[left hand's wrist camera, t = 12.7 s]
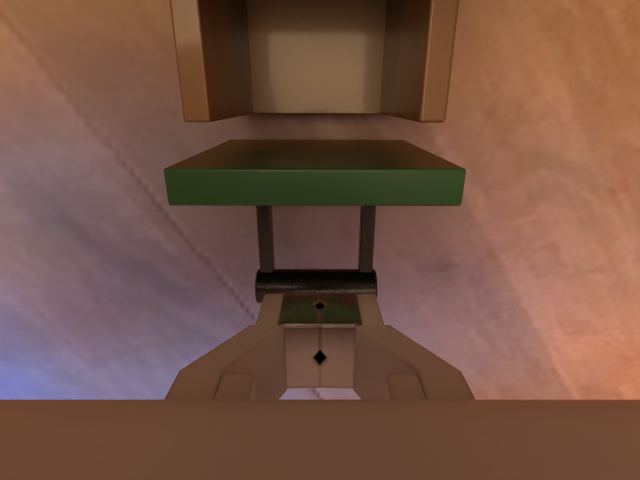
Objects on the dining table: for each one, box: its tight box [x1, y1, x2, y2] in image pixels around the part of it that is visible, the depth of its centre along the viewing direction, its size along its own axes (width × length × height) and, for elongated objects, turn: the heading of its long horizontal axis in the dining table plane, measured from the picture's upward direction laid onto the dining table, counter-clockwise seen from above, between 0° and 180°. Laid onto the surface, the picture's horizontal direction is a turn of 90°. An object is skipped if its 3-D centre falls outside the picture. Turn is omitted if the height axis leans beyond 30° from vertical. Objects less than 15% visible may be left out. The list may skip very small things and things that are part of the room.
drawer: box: [164, 0, 466, 303], centre depth 15 cm, size 18×9×9 cm, turn 0°
